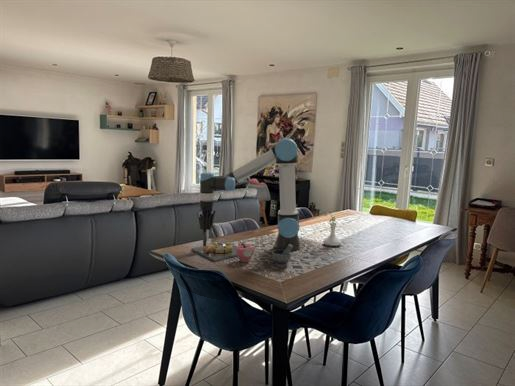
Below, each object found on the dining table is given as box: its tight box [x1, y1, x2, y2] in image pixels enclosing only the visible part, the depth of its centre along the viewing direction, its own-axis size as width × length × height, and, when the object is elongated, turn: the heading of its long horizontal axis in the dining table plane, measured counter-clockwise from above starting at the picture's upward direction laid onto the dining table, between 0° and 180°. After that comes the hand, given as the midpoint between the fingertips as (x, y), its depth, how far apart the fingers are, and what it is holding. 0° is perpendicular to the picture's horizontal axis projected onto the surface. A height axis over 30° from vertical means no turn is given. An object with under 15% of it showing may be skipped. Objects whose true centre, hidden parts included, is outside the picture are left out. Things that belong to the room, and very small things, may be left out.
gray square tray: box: [190, 241, 239, 262], centre depth 217 cm, size 24×24×5 cm
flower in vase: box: [322, 205, 342, 247], centre depth 236 cm, size 13×11×25 cm
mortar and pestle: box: [271, 244, 293, 268], centre depth 197 cm, size 11×9×12 cm
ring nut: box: [202, 231, 234, 253], centre depth 217 cm, size 16×13×10 cm
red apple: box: [236, 242, 255, 263], centre depth 202 cm, size 10×9×10 cm
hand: (206, 240), depth 220 cm, fingers closed
